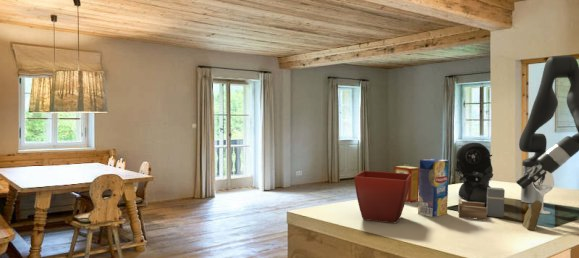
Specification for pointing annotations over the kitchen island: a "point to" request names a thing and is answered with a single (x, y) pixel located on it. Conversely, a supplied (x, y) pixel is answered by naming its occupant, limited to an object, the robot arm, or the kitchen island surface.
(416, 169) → the baking soda box
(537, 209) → the rock
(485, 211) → the brown open box
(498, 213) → the grey lidded box
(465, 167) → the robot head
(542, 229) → the kitchen island surface
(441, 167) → the beverage box
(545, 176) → the wineglass
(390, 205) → the plant pot
